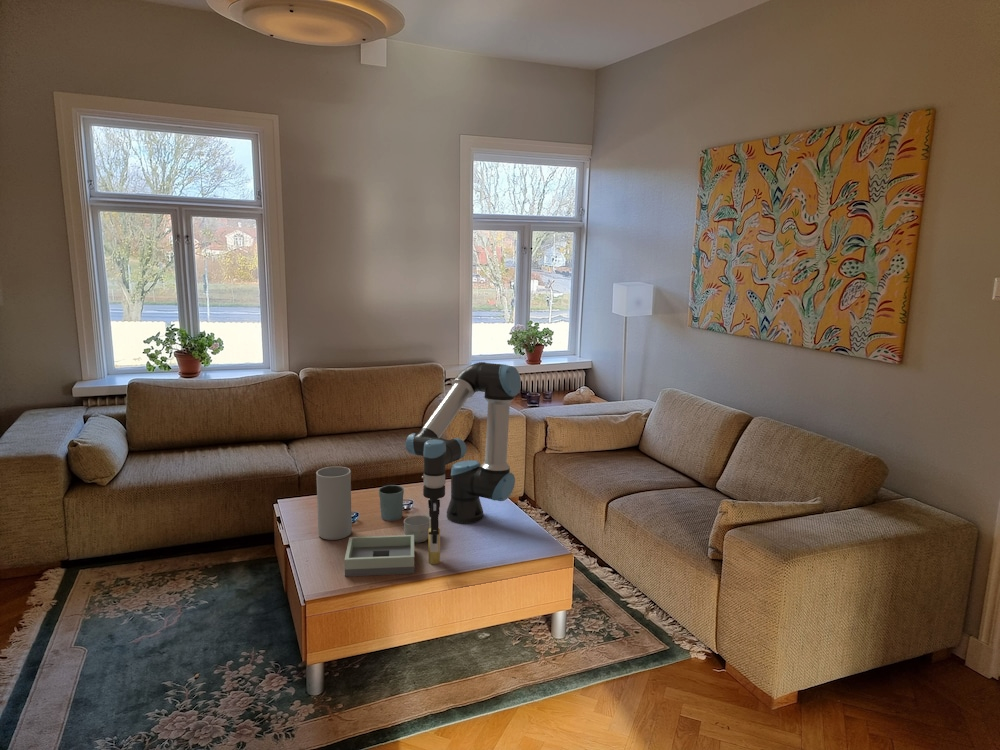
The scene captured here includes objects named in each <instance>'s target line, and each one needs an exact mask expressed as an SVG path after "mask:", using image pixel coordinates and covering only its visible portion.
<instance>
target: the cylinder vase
mask: <svg viewBox="0 0 1000 750" xmlns="http://www.w3.org/2000/svg"><path fill="white" fill-rule="evenodd" d="M315 473H316V498H317V499H316V501H317V505H316V506H317V528H318V529H317V531H318V533H317V534H318V536H319V537H320V538H321V539H324V540H327V541H338V540H343V539H346V538H347V537H349V536H350V535H351V534H352V533H353V532H352V531H353V527H352V526H353V525H352V524H353V523H352V484H351V482H352V481H351V480H352V477H351V476H352V475H351V469H350V468H348V467H345V466H327V467H322V468H320V469H318V470H316V472H315Z"/></svg>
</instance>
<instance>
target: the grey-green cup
mask: <svg viewBox="0 0 1000 750" xmlns="http://www.w3.org/2000/svg"><path fill="white" fill-rule="evenodd" d="M404 491H405V489H404V487H403V486H401V485H397V484H390V485H389V484H388V485H384V486H381V487H380V488H378V495H379V505H380V506H379V509H380V518H381V519H382V520H383V521H388V522H392V521H398V520H401V519H402V517H403V505H404V493H405V492H404Z"/></svg>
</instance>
